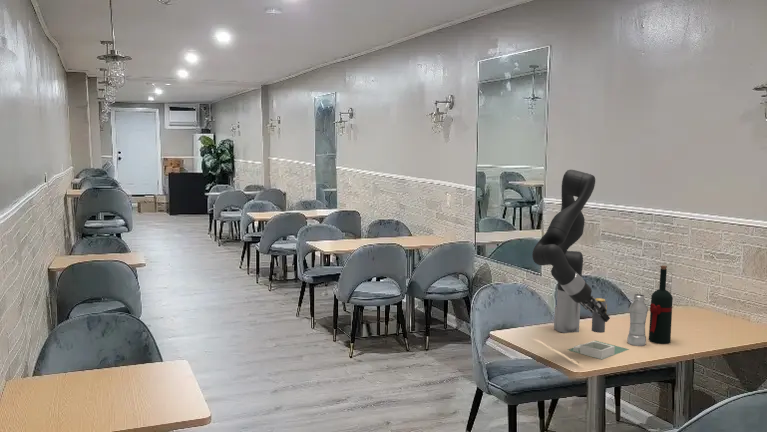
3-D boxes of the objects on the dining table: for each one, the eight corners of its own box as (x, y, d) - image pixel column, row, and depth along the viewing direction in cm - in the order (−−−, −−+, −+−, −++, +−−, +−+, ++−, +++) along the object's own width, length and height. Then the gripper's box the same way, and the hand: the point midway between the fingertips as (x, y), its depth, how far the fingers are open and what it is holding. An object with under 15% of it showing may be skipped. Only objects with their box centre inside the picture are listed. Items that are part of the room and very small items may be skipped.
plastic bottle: (623, 344, 247) (626, 293, 245) (640, 343, 248) (643, 293, 246) (631, 349, 241) (634, 297, 239) (649, 349, 241) (651, 297, 239)
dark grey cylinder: (596, 333, 227) (597, 300, 226) (589, 329, 231) (590, 298, 230) (608, 332, 228) (610, 300, 227) (601, 328, 233) (602, 297, 232)
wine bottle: (641, 341, 251) (645, 265, 248) (655, 337, 257) (659, 263, 254) (660, 346, 245) (665, 269, 242) (674, 341, 251) (678, 266, 248)
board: (566, 353, 235) (567, 341, 235) (595, 343, 247) (595, 332, 247) (601, 362, 225) (601, 351, 224) (629, 352, 237) (629, 341, 236)
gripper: (594, 282, 219) (622, 315, 224) (571, 275, 233) (598, 306, 237) (579, 298, 218) (608, 331, 223) (557, 290, 232) (585, 320, 236)
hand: (603, 318), depth 230 cm, fingers closed on dark grey cylinder, 4 cm apart
